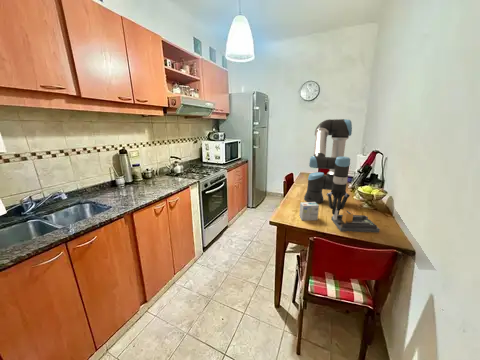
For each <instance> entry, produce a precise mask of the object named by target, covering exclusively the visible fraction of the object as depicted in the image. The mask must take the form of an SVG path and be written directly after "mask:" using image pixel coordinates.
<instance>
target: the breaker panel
mask: <svg viewBox="0 0 480 360" xmlns="http://www.w3.org/2000/svg"><path fill="white" fill-rule="evenodd" d="M342 217H343V216H341V217H340V218H337V220H334V219H333V215H332V216H331V221H332V223H333V224H334V225H335V226H336V228H337V229H338V230H339V231H340V232H346V231H349V232H350V231H352V233H378V234H379V233H380V230H381V228H380V227H378V226H377V228H348V227H343V226H342V224H370V225H376V224H375V222H373V221H372V220H370V219H369V218H368V219H362V218H363V217H362V216H353V220H352V222H346V223H344V222H343V220H342ZM350 233H351V232H350Z"/></svg>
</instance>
